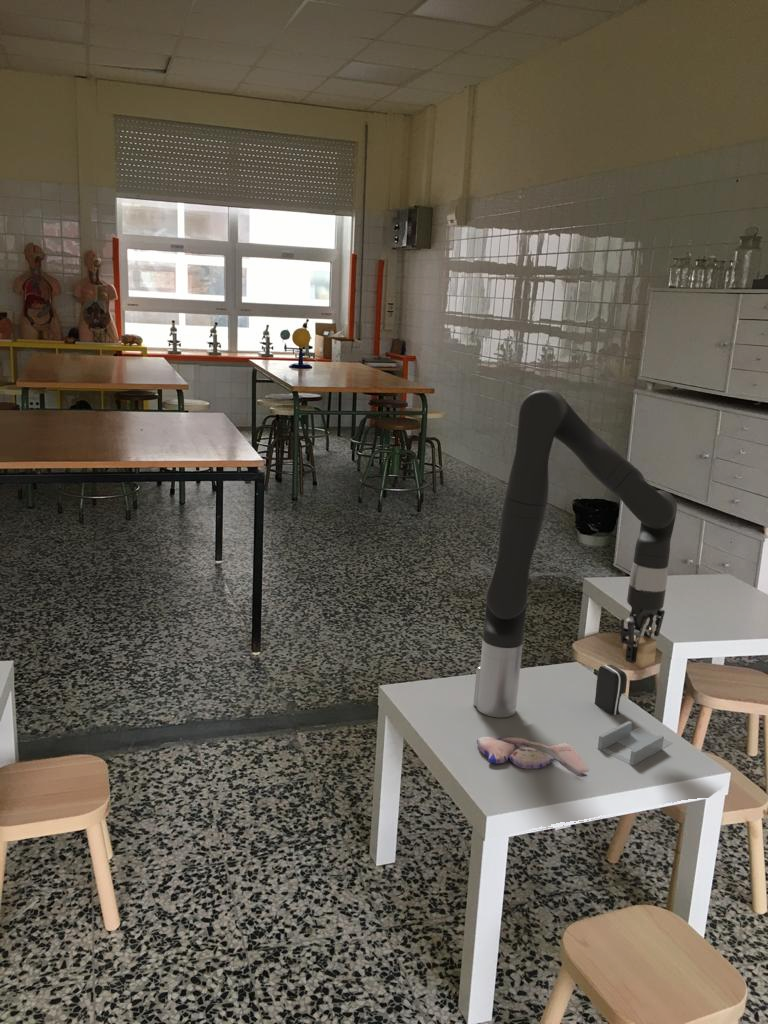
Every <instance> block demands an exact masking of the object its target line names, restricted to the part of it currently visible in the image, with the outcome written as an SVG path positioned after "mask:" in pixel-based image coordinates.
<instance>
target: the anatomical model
mask: <svg viewBox="0 0 768 1024" xmlns="http://www.w3.org/2000/svg"><path fill="white" fill-rule="evenodd" d="M476 744H477V746H478V749H479V751H480V752H481V753H482V754H483V755H484V756H486V757H487V760H488V762H489V763H491V764H504V763H505V762H508V759H509V760H510V762H512V763H513V765H515V766H516V767H519V768H520V769H521V768H522V769H532V770H533V769H541V768H544V767H546V766H549V764H551V763H552V762H554V761H556V760H557V761H558V763H559V764H560V765H561V766H562V767H564V768H566V769H567V770H569V771H570V772H571V773H573V774H575V775H577V776H579V777H586V776H588V775H587V774H586V773H589V772H590V769H589V768H588V767H587V765H586V764H585V762H584V761H583V759H582V758H581V756H580V755H579V754H578V753H577V751H576V750H575V748H573V746H572V745H571V744H570V743H568V742H565V743H558V744H555V745H551V746H550V745H546V744H544V743H541V742H535V741H531V740H529V739H525V738H521V737H513V736H512V737H500V738H499V737H491V736H482V737H478V738H477V739H476ZM529 744H531V745H535V746H540V747H543V748H547V749H549V751H551V752H552V753H554V754H555V755H556V756H557V758H558V759H559V760H558V759H557V758H555V757H554V756H552V755H550V754H548V753H545V752H542V751H539V750H534V749H530V748H518V749H516V746H515V745H518V746H526V747H527V746H528V747H531V745H529Z"/></svg>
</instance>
